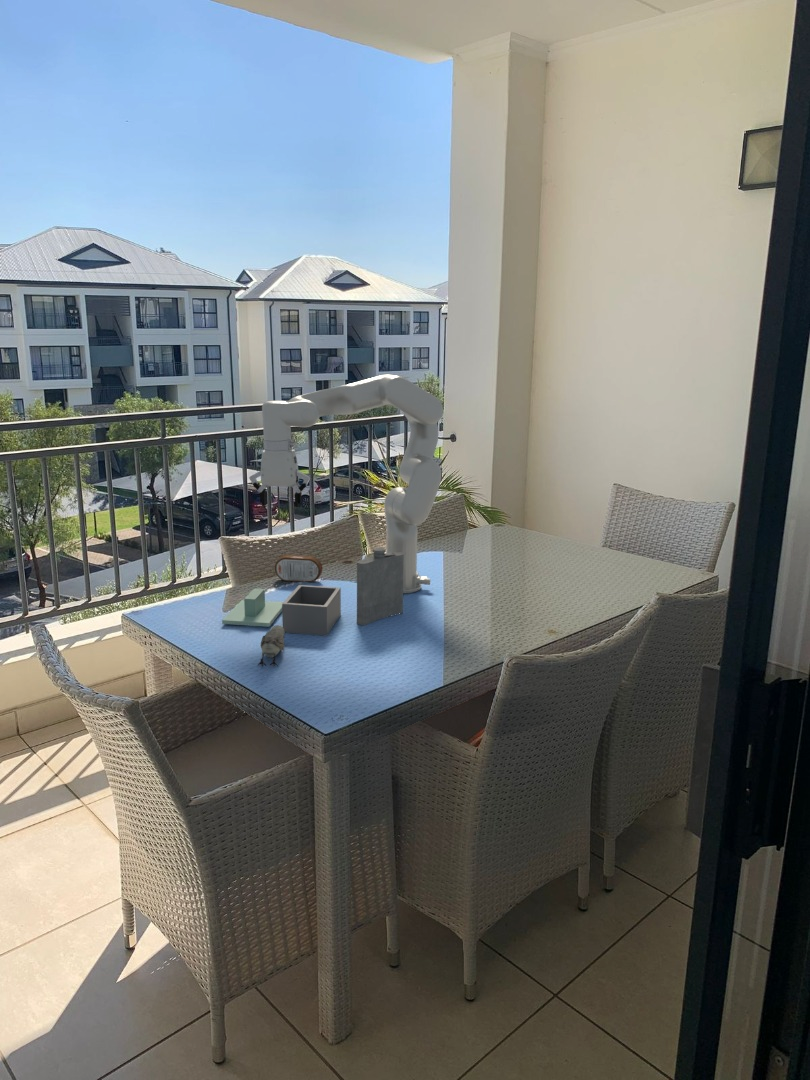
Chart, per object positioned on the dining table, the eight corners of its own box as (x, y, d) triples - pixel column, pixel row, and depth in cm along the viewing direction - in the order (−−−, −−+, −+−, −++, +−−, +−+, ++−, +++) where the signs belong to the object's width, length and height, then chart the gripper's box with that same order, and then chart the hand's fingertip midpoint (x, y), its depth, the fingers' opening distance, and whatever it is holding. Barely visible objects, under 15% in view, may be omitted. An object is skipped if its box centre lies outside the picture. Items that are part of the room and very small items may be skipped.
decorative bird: (290, 643, 201) (289, 616, 199) (278, 670, 186) (277, 640, 184) (269, 643, 201) (268, 615, 200) (255, 669, 186) (254, 640, 184)
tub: (340, 614, 222) (340, 587, 220) (326, 635, 206) (326, 606, 204) (299, 611, 223) (298, 584, 221) (282, 632, 208) (282, 603, 206)
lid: (286, 608, 227) (285, 585, 225) (269, 630, 210) (268, 605, 208) (242, 606, 228) (241, 583, 226) (222, 627, 212) (221, 602, 210)
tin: (322, 580, 251) (322, 555, 249) (320, 583, 248) (320, 558, 246) (276, 578, 252) (275, 553, 250) (274, 581, 249) (273, 556, 247)
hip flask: (361, 626, 213) (362, 555, 208) (352, 621, 216) (352, 552, 211) (404, 613, 224) (406, 545, 219) (395, 609, 227) (396, 542, 222)
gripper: (311, 444, 222) (314, 503, 226) (251, 443, 224) (255, 502, 228) (305, 448, 215) (307, 509, 219) (243, 447, 217) (247, 508, 221)
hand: (281, 505), depth 224 cm, fingers open, 9 cm apart
